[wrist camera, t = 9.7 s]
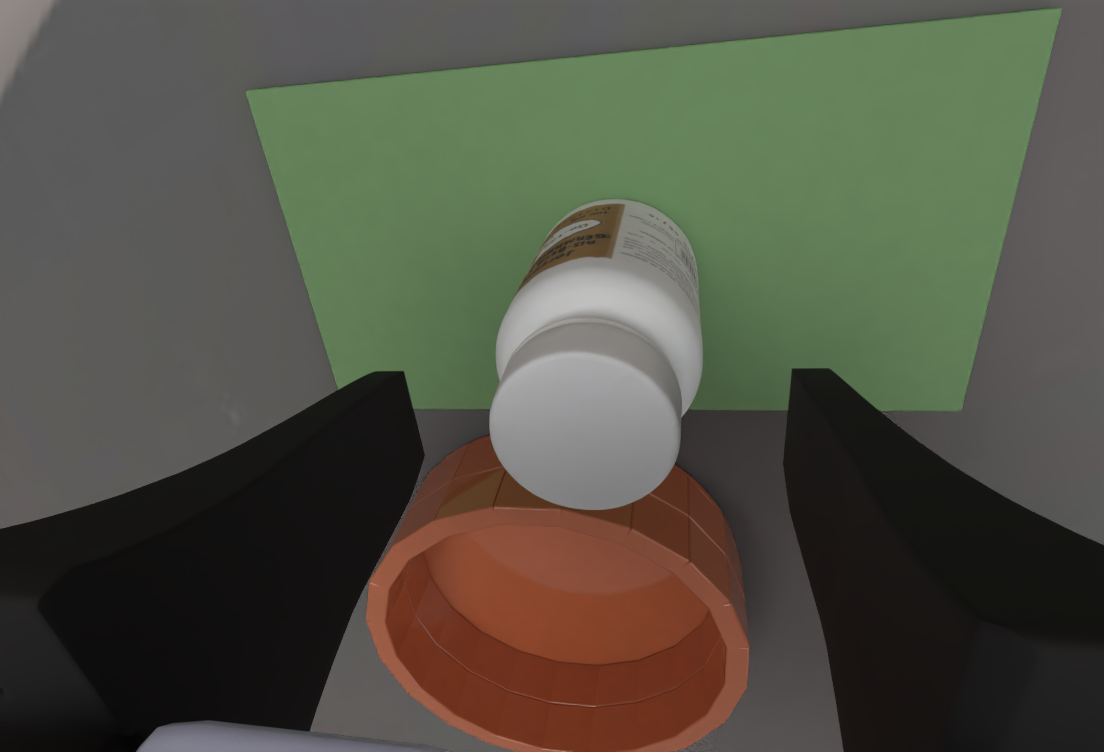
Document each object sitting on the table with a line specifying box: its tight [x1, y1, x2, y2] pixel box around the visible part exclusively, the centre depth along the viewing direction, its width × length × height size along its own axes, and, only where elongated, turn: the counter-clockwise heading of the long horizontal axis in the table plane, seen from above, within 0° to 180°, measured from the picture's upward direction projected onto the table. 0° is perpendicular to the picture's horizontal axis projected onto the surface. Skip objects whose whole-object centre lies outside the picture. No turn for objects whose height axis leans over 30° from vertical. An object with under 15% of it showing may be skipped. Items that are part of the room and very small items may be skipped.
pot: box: [366, 435, 750, 752], centre depth 23 cm, size 12×12×4 cm
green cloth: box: [245, 7, 1062, 411], centre depth 18 cm, size 19×10×1 cm, turn 96°
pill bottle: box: [489, 199, 703, 510], centre depth 15 cm, size 4×4×8 cm
